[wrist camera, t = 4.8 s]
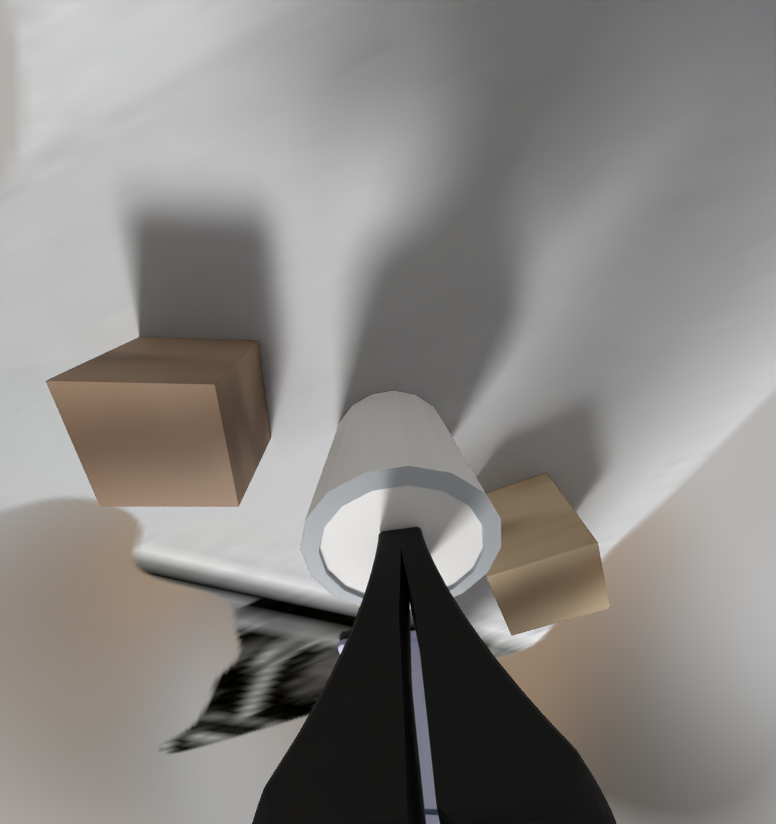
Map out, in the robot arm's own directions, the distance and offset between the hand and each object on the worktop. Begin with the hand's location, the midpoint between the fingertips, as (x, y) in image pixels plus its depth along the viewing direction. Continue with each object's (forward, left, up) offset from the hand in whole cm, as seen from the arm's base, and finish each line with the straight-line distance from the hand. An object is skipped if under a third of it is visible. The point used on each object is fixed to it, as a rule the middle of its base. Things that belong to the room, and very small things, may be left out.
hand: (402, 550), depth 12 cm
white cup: (0, 0, -7) cm, 7 cm away
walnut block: (+4, +8, -7) cm, 11 cm away
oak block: (-7, -6, -7) cm, 12 cm away
